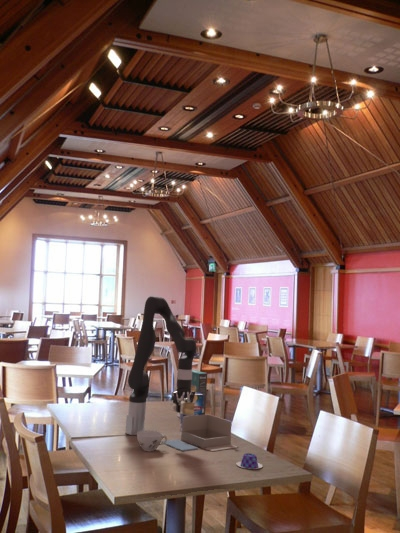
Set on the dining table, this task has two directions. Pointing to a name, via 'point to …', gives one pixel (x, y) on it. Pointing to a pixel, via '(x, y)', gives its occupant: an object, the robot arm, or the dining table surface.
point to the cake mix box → (199, 386)
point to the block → (184, 408)
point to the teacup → (150, 439)
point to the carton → (207, 432)
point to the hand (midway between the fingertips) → (182, 411)
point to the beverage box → (197, 408)
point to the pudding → (249, 461)
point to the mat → (180, 445)
